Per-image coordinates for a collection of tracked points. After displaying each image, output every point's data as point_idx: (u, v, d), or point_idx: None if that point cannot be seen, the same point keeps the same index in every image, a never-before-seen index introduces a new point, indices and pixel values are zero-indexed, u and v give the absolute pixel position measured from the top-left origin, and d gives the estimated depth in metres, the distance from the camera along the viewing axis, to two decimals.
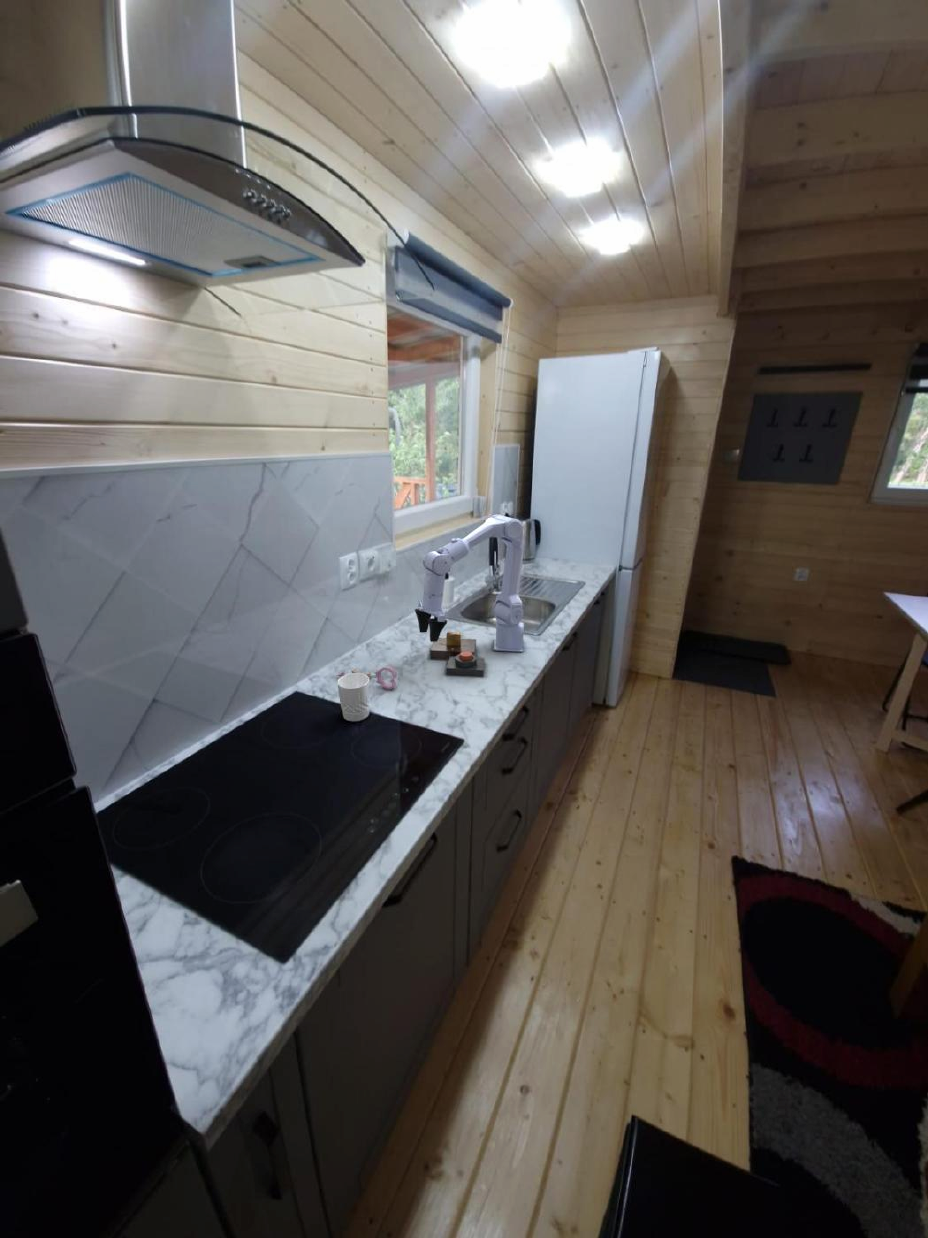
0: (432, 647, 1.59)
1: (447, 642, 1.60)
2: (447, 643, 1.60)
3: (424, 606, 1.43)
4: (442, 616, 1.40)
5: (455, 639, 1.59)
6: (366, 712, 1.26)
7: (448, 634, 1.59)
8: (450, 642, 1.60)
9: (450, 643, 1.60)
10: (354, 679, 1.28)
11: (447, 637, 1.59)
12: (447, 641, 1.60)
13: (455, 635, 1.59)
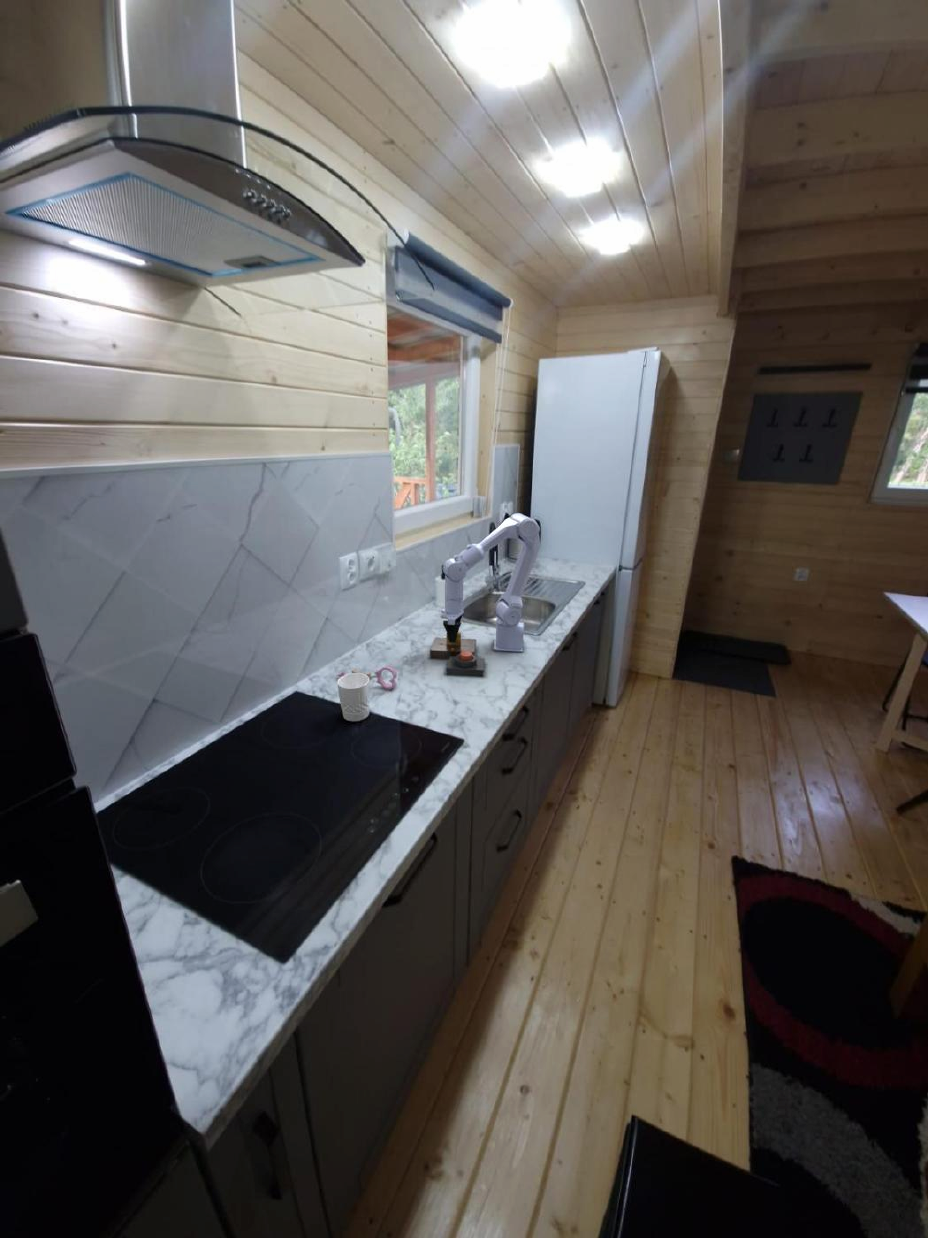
0: (432, 647, 1.59)
1: (447, 642, 1.60)
2: (447, 643, 1.60)
3: (445, 608, 1.56)
4: (451, 619, 1.50)
5: None
6: (366, 712, 1.26)
7: None
8: (450, 642, 1.60)
9: (450, 643, 1.60)
10: (354, 679, 1.28)
11: (447, 637, 1.59)
12: (447, 641, 1.60)
13: None
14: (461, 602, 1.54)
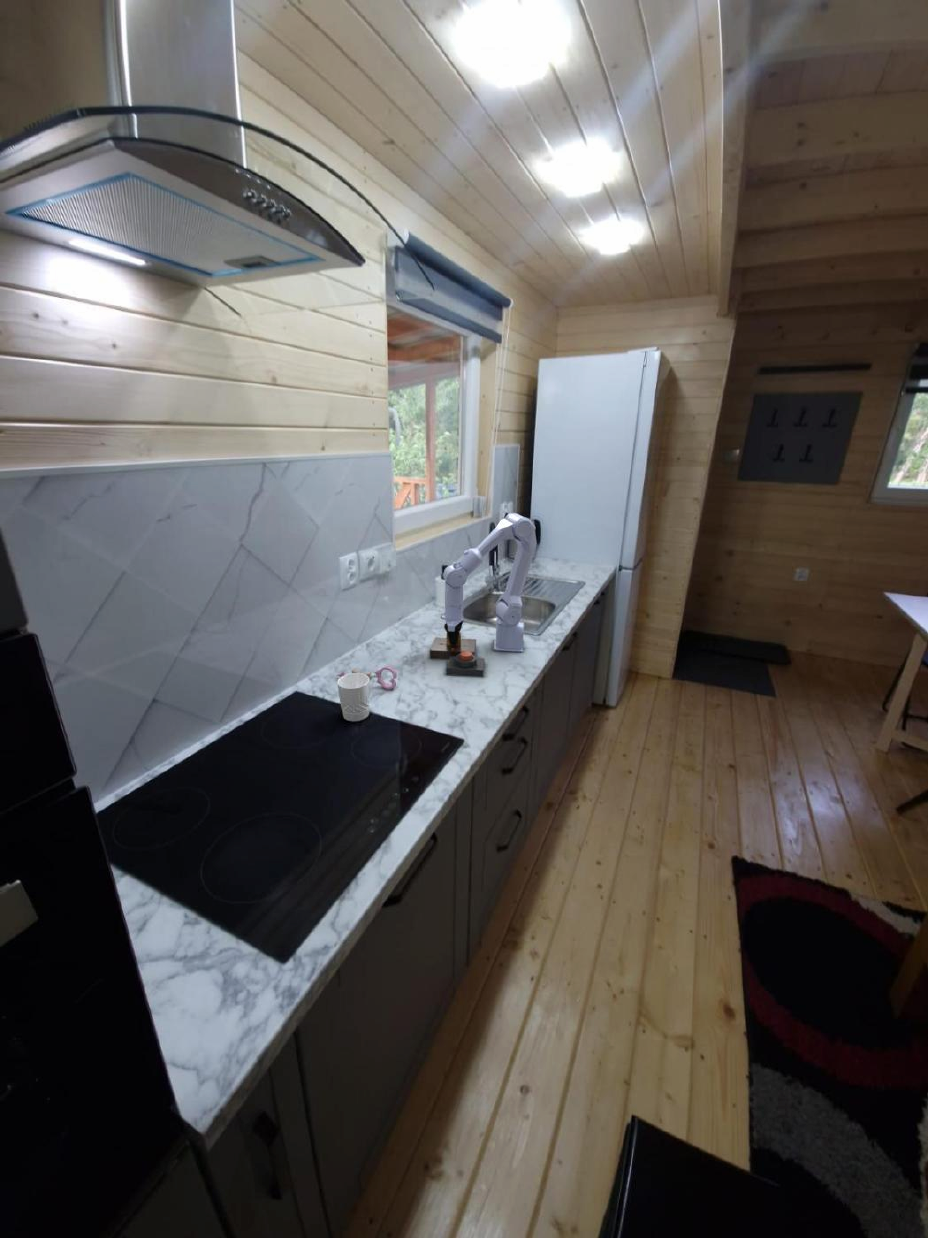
0: (432, 647, 1.59)
1: (447, 642, 1.60)
2: (447, 643, 1.60)
3: (445, 615, 1.57)
4: (451, 626, 1.51)
5: None
6: (366, 712, 1.26)
7: None
8: None
9: None
10: (354, 679, 1.28)
11: (447, 637, 1.59)
12: (447, 641, 1.60)
13: None
14: (461, 609, 1.55)
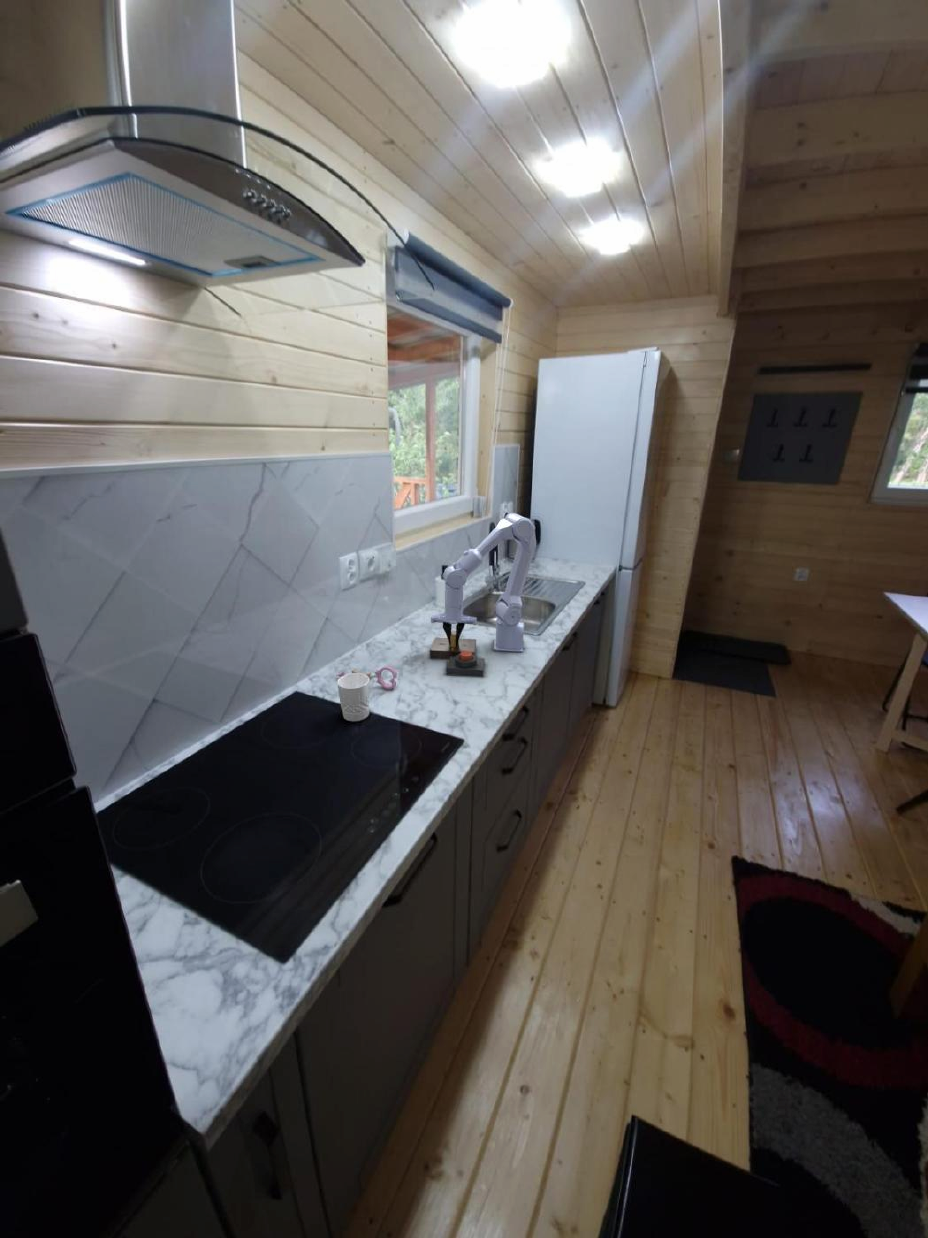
0: (432, 647, 1.59)
1: (455, 644, 1.59)
2: (455, 645, 1.59)
3: (455, 618, 1.54)
4: (476, 619, 1.57)
5: None
6: (366, 712, 1.26)
7: (455, 635, 1.58)
8: None
9: None
10: (354, 679, 1.28)
11: (455, 639, 1.58)
12: (455, 643, 1.58)
13: None
14: None
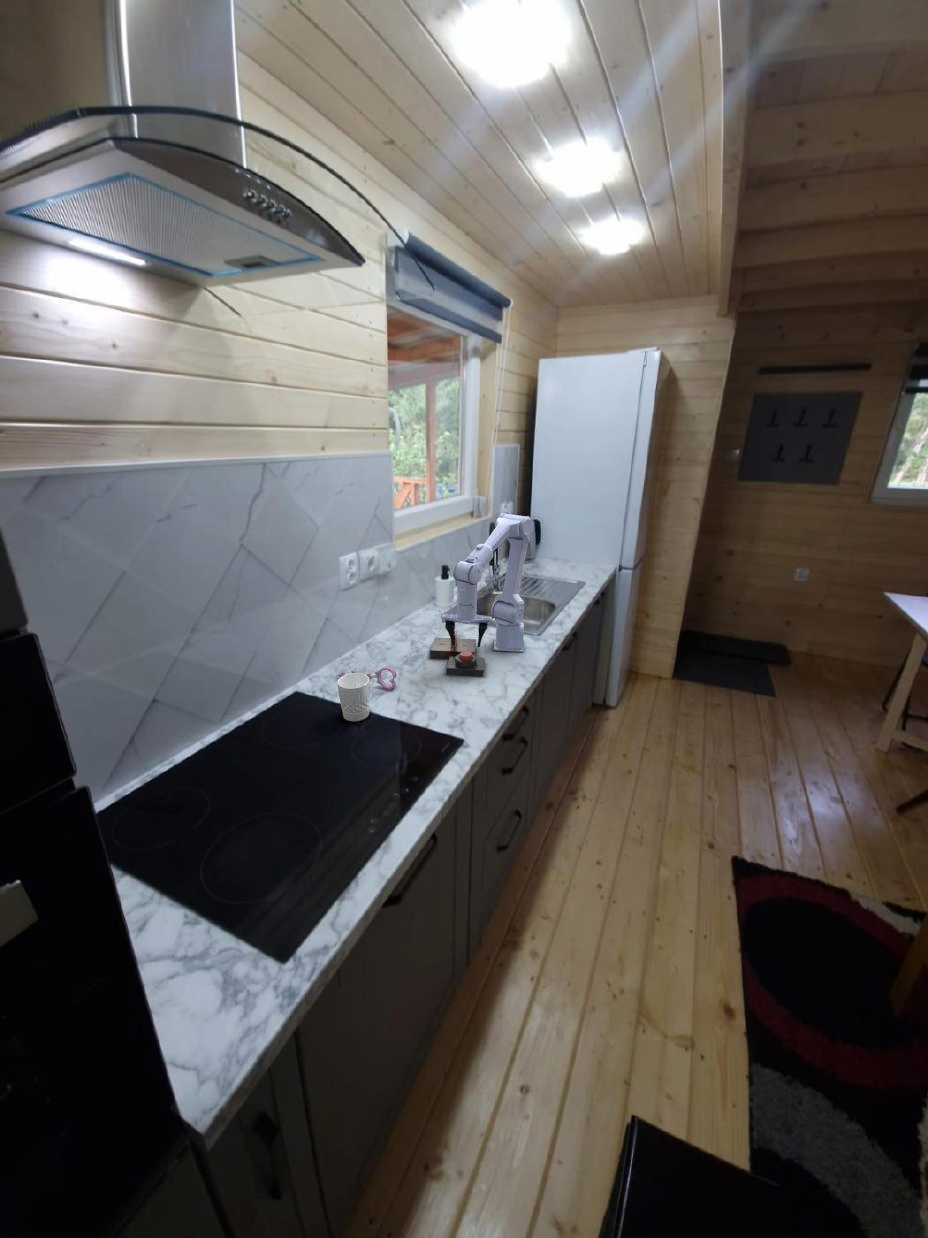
0: (432, 647, 1.59)
1: (455, 644, 1.59)
2: (455, 645, 1.59)
3: (468, 618, 1.42)
4: (491, 618, 1.44)
5: (456, 637, 1.61)
6: (366, 712, 1.26)
7: (455, 635, 1.58)
8: None
9: None
10: (354, 679, 1.28)
11: (455, 639, 1.58)
12: (455, 643, 1.58)
13: (456, 633, 1.60)
14: None
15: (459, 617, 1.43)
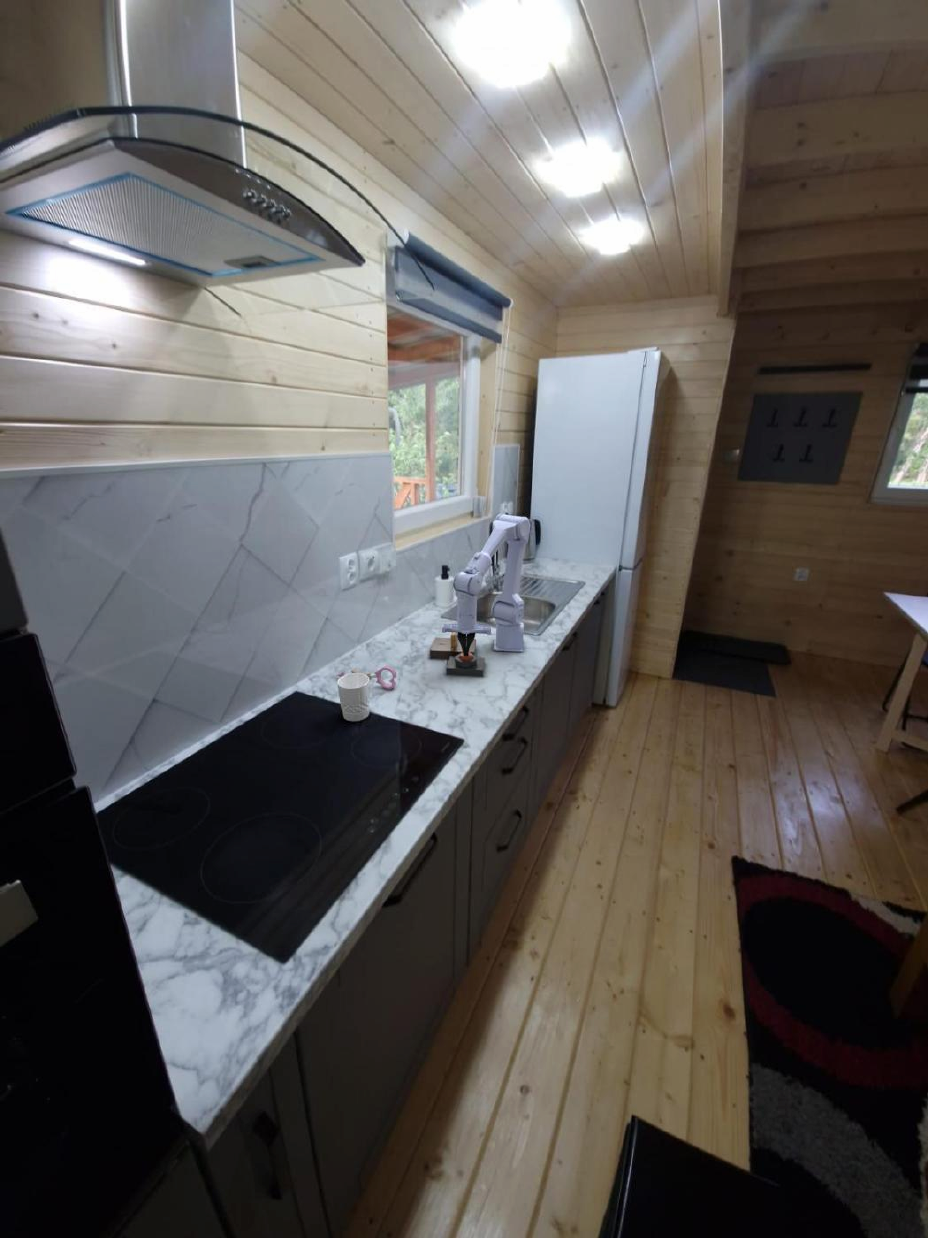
0: (432, 647, 1.59)
1: (455, 644, 1.59)
2: (455, 645, 1.59)
3: (468, 628, 1.43)
4: None
5: (456, 637, 1.61)
6: (366, 712, 1.26)
7: (455, 635, 1.58)
8: None
9: None
10: (354, 679, 1.28)
11: (455, 639, 1.58)
12: (455, 643, 1.58)
13: (456, 633, 1.60)
14: None
15: (459, 627, 1.44)
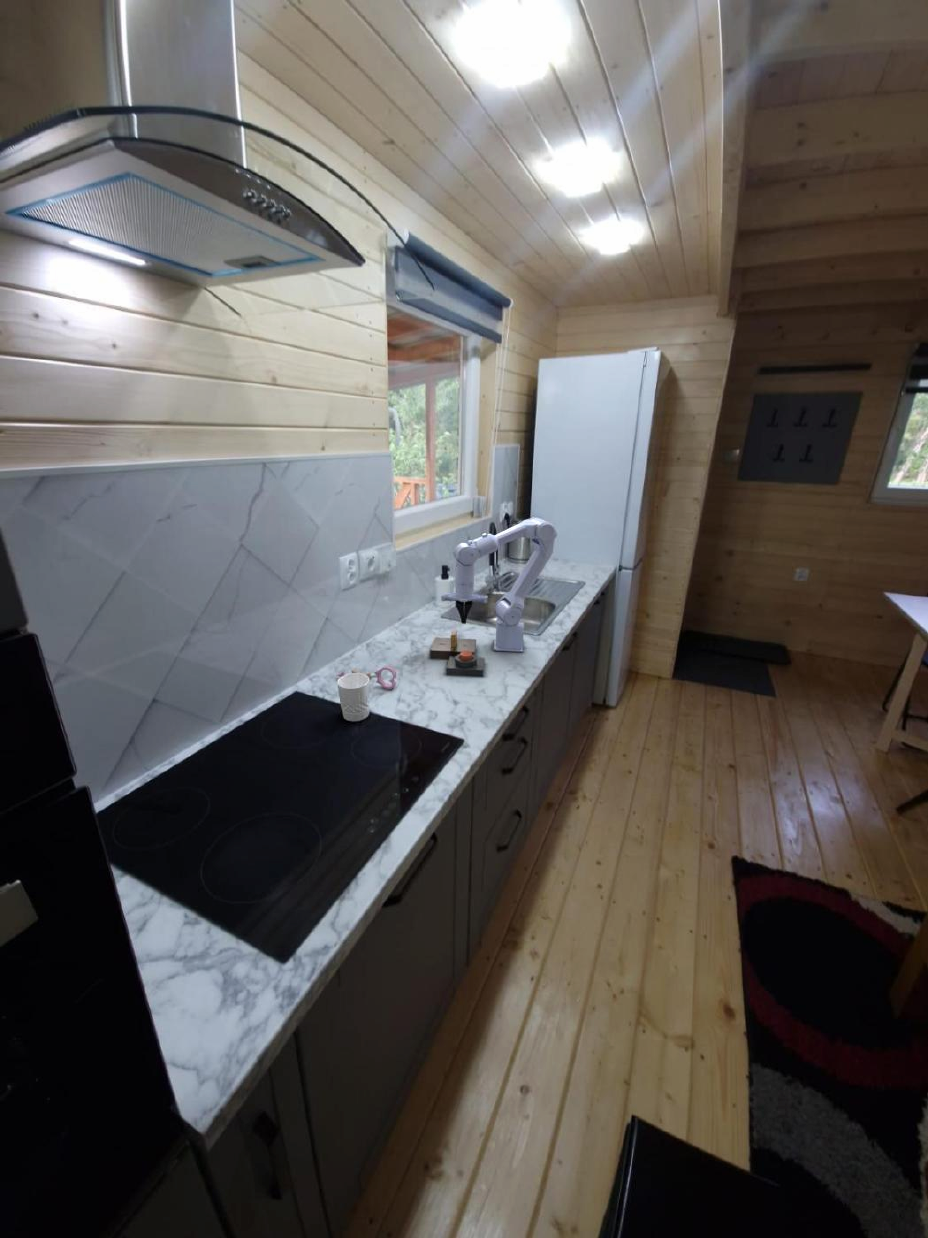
0: (432, 647, 1.59)
1: (455, 644, 1.59)
2: (455, 645, 1.59)
3: (466, 596, 1.53)
4: None
5: (456, 637, 1.61)
6: (366, 712, 1.26)
7: (455, 635, 1.58)
8: None
9: None
10: (354, 679, 1.28)
11: (455, 639, 1.58)
12: (455, 643, 1.58)
13: (456, 633, 1.60)
14: None
15: (457, 596, 1.54)
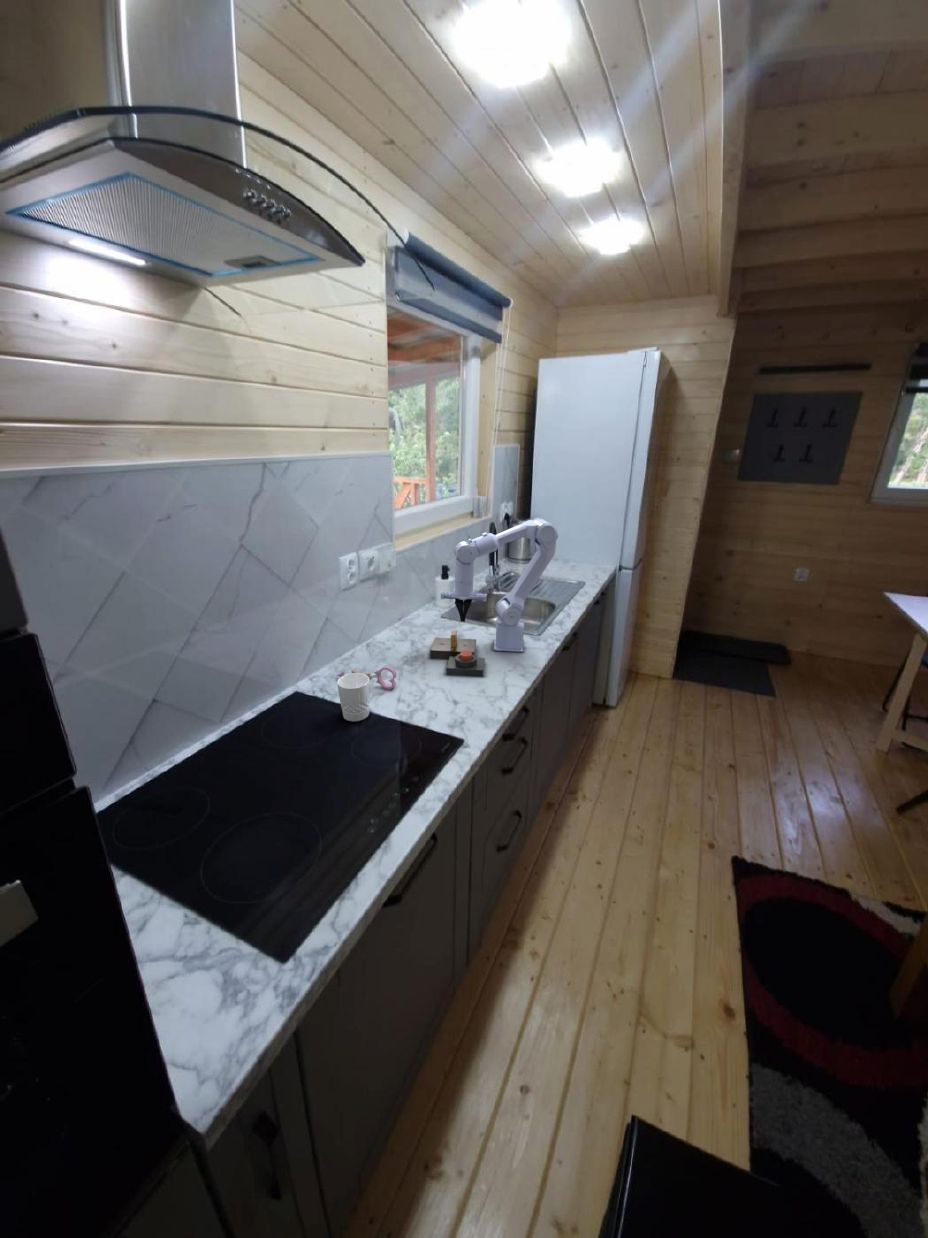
0: (432, 647, 1.59)
1: (455, 644, 1.59)
2: (455, 645, 1.59)
3: (465, 594, 1.54)
4: (486, 596, 1.57)
5: (456, 637, 1.61)
6: (366, 712, 1.26)
7: (455, 635, 1.58)
8: None
9: None
10: (354, 679, 1.28)
11: (455, 639, 1.58)
12: (455, 643, 1.58)
13: (456, 633, 1.60)
14: None
15: (457, 594, 1.55)
